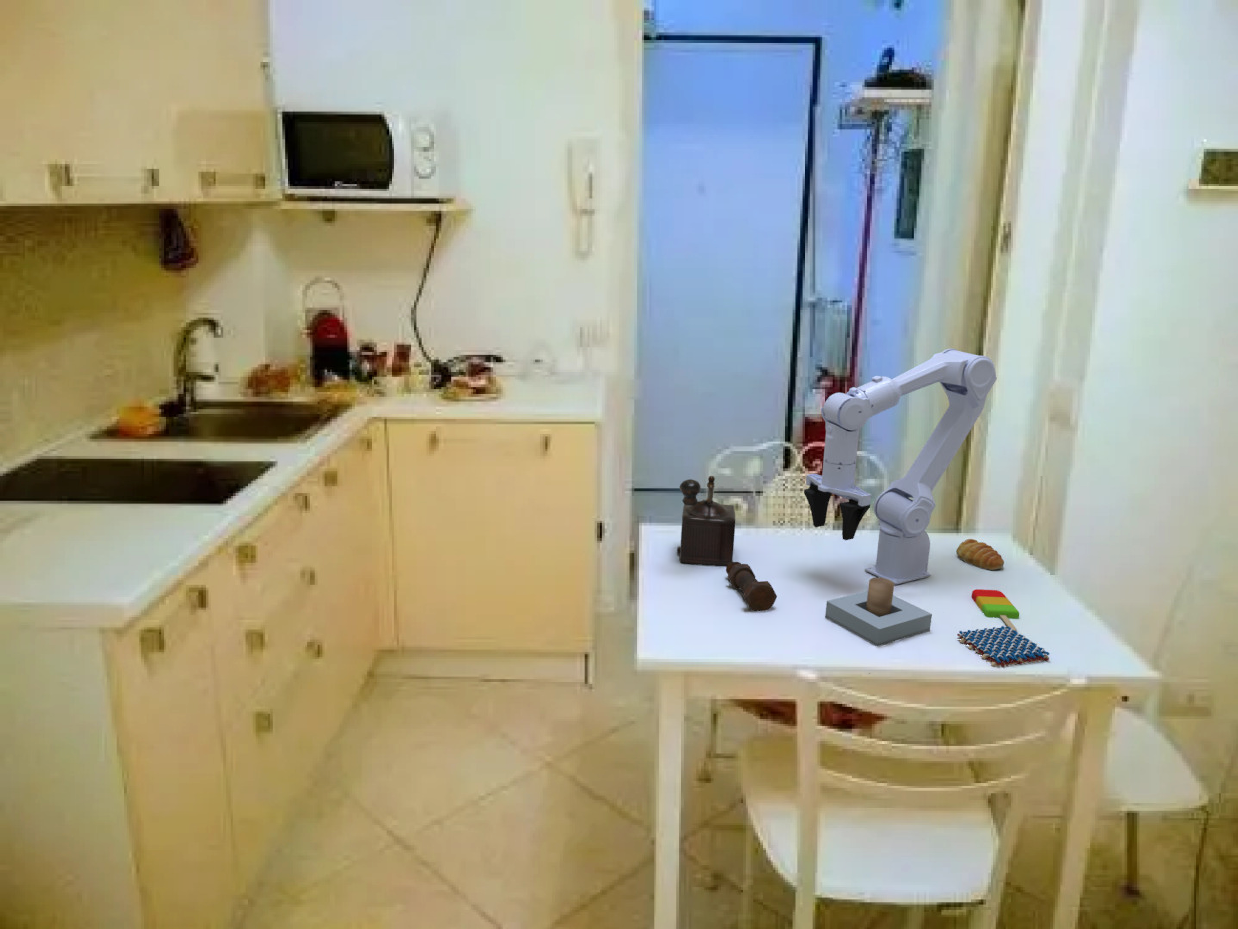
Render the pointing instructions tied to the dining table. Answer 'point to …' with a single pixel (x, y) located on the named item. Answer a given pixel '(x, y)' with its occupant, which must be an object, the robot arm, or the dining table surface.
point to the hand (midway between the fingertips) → (833, 532)
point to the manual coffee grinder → (705, 527)
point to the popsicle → (988, 605)
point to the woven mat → (1003, 646)
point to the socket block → (878, 619)
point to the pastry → (979, 555)
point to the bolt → (751, 587)
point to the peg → (880, 596)
